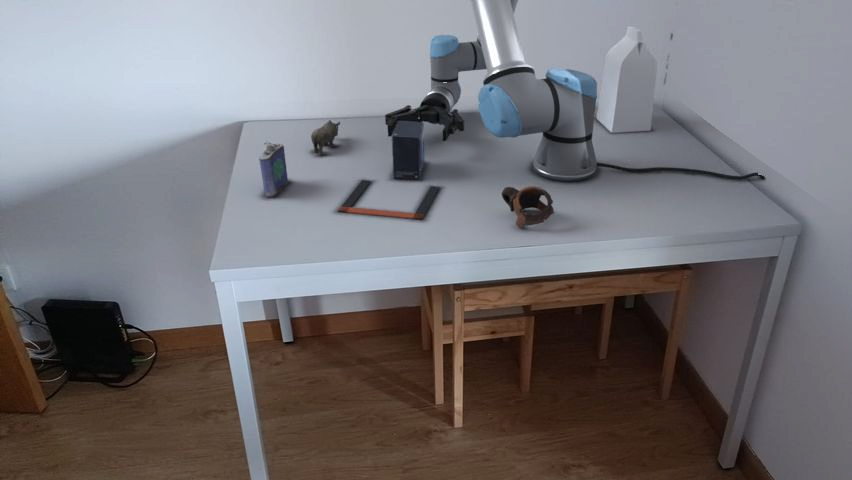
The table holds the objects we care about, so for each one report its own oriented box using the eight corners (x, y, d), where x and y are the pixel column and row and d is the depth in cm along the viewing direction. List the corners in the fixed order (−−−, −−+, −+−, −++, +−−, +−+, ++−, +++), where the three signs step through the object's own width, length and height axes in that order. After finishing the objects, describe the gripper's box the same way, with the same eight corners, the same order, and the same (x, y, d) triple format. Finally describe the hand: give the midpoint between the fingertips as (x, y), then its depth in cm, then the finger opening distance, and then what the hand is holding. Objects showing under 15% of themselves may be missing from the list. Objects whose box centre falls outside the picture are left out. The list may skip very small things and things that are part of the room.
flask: (273, 198, 149) (266, 151, 143) (260, 197, 149) (252, 149, 144) (291, 181, 157) (284, 135, 151) (278, 180, 157) (271, 134, 152)
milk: (596, 118, 200) (606, 24, 186) (633, 116, 202) (645, 23, 188) (611, 132, 190) (623, 34, 176) (650, 130, 192) (665, 33, 179)
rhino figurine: (347, 137, 181) (345, 115, 178) (324, 156, 170) (321, 133, 166) (332, 135, 182) (330, 113, 178) (309, 154, 170) (306, 131, 167)
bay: (439, 188, 156) (439, 186, 156) (422, 219, 143) (422, 218, 142) (362, 181, 158) (362, 179, 158) (338, 211, 145) (337, 210, 144)
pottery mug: (559, 215, 147) (563, 192, 140) (538, 248, 143) (541, 227, 136) (509, 190, 150) (511, 167, 142) (487, 222, 146) (488, 200, 138)
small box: (421, 180, 159) (419, 136, 154) (392, 179, 159) (390, 135, 154) (425, 162, 168) (424, 120, 163) (399, 161, 168) (396, 119, 163)
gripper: (482, 123, 185) (467, 152, 167) (392, 116, 188) (367, 143, 170) (483, 95, 181) (467, 122, 163) (390, 88, 184) (365, 114, 166)
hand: (416, 133), depth 167 cm, fingers open, 13 cm apart
